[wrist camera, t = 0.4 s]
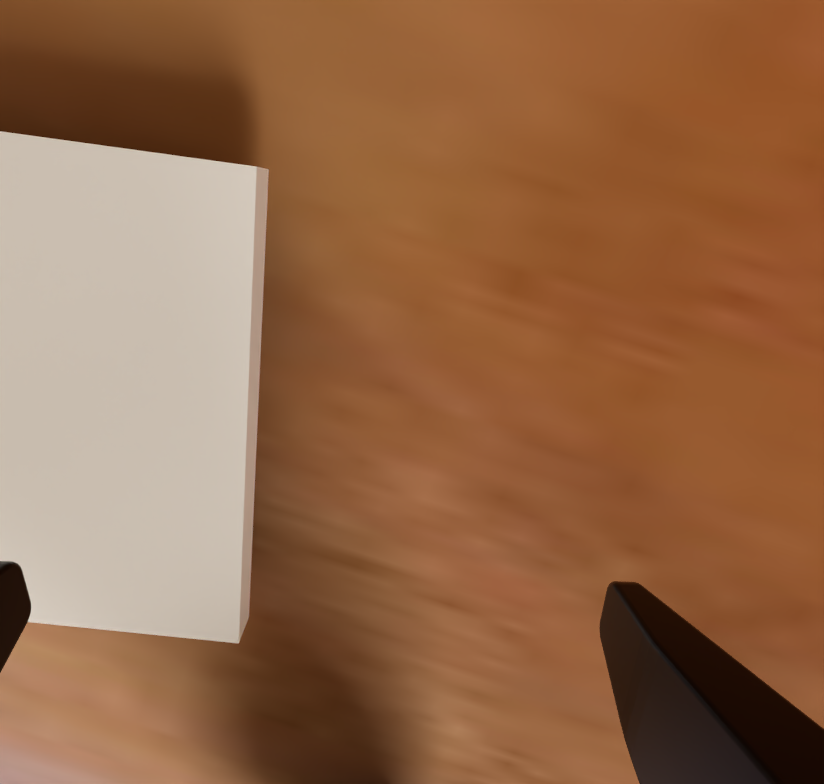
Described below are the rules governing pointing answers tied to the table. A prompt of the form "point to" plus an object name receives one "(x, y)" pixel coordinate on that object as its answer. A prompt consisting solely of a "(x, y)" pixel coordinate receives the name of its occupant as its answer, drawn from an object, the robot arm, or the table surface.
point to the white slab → (130, 384)
